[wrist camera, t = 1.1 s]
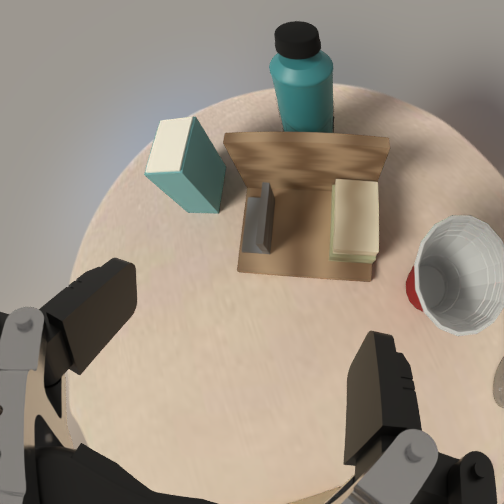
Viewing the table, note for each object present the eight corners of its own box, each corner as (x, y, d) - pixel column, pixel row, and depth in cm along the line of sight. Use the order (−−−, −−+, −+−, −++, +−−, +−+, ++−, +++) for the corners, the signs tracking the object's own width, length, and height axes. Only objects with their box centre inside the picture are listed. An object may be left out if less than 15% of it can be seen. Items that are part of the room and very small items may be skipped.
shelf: (370, 188, 36) (388, 137, 25) (369, 281, 34) (395, 263, 22) (249, 183, 40) (224, 132, 28) (239, 272, 37) (205, 250, 26)
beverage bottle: (340, 157, 38) (348, 41, 19) (294, 171, 39) (272, 58, 20) (322, 121, 40) (316, 7, 21) (279, 134, 41) (250, 22, 21)
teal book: (226, 166, 41) (194, 115, 29) (218, 213, 40) (181, 171, 28) (196, 167, 42) (158, 119, 30) (188, 212, 41) (143, 173, 29)
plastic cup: (367, 278, 34) (392, 258, 22) (430, 229, 33) (470, 192, 22) (413, 350, 31) (456, 362, 19) (473, 297, 30) (526, 285, 19)
